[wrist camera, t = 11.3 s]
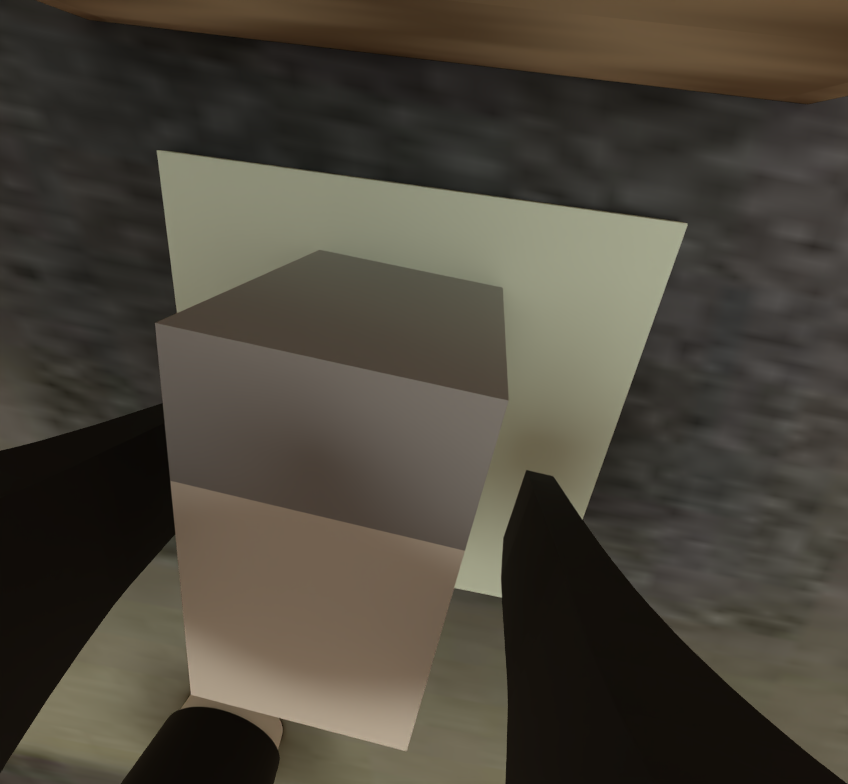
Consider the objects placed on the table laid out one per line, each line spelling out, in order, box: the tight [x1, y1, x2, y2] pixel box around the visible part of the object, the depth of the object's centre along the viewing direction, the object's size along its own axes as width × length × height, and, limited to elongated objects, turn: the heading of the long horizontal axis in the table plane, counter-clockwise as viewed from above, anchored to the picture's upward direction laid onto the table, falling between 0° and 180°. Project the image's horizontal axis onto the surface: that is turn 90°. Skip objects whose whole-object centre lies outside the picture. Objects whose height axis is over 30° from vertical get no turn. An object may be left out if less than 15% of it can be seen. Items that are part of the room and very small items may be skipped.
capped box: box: [155, 250, 509, 751], centre depth 10 cm, size 4×8×6 cm, turn 170°
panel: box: [157, 150, 688, 597], centre depth 13 cm, size 12×12×1 cm
